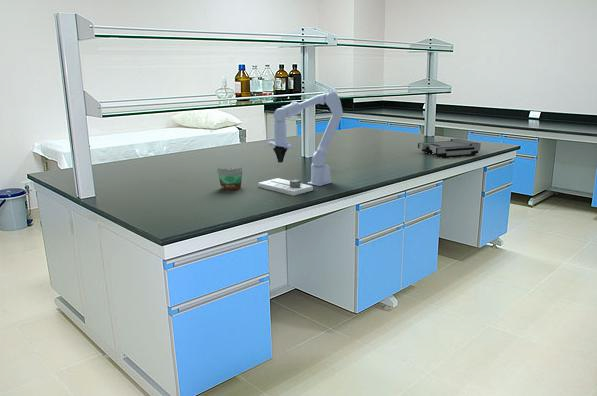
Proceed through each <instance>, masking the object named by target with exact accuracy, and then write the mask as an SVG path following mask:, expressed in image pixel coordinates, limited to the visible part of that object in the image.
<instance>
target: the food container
mask: <svg viewBox="0 0 597 396" xmlns="http://www.w3.org/2000/svg"><path fill="white" fill-rule="evenodd" d="M216 172H217V173H218V177H219V185H220V189H221V190H223V191H229V192H230V191H232V192H233V191H238V190H241V189H242V179H243V173H244V172H245V170H244V167H240V168H233V167H228V168H224V169H222V168H219V167H218V168H217V170H216Z"/></svg>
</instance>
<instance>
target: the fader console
mask: <svg viewBox="0 0 597 396" xmlns="http://www.w3.org/2000/svg"><path fill="white" fill-rule="evenodd" d="M290 181H291V180H287V179H283V178H280V177H279V178H278V177H277V178H272V179H267V180H265V181H261V182H257V183H258V184H257V186H258V187H257V188H262V189H265V190H269V191H273V192H277V193H282V194H285V195H289V196H294V197H295V196H298V195H300V194H305V193H307V192H311V191H312V192H313V191H314V186H313V185H311V184H305V183H301V186H299V187H295V188H294V187H290Z"/></svg>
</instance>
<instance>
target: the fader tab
mask: <svg viewBox="0 0 597 396" xmlns="http://www.w3.org/2000/svg"><path fill="white" fill-rule="evenodd" d="M289 181H290V187H294V188H295V187H299V186H301V184H302V182H301V180H300V179H293V180H289Z"/></svg>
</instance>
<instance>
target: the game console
mask: <svg viewBox="0 0 597 396" xmlns="http://www.w3.org/2000/svg"><path fill="white" fill-rule="evenodd" d="M481 147H482V146H481V143H480V142H477V141H472V140H468V139H467V140H466V139H463V138H452V139H451V138H450V140H444V141H428V142H418V143H417V149H419V150H421V152H424V153H425V152H427V153H430V154H432V153H434V154H432V155H435V156H436V157H437V156H439V157H438V158H440V157H442V158H441V159H449V157H453V158H462V157H461V156H466V157H475V156H474V155H477V154H479V152H480V151H481ZM430 154H429V155H430Z"/></svg>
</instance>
